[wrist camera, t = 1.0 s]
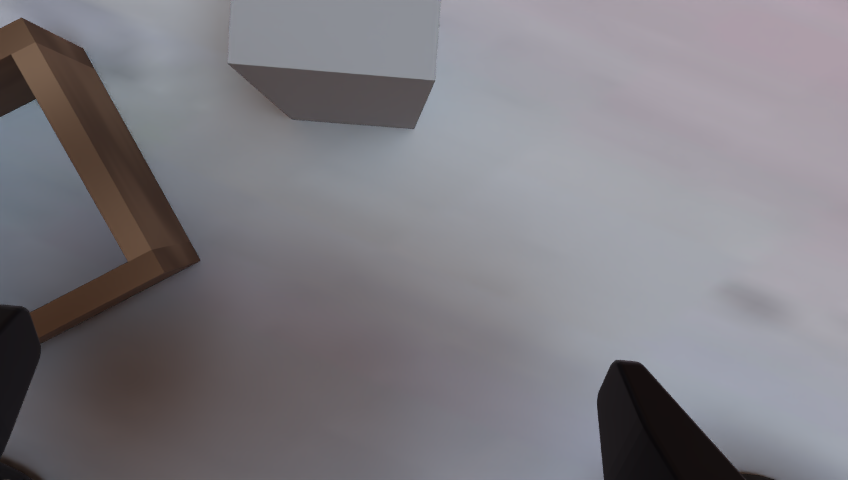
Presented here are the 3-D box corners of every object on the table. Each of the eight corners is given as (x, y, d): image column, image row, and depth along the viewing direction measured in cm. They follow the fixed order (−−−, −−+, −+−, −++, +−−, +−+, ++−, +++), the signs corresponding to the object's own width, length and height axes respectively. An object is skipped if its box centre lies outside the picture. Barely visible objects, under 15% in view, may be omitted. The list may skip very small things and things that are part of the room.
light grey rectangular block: (414, 128, 24) (435, 80, 14) (291, 119, 24) (227, 63, 14) (422, 5, 24) (449, -130, 14) (299, -6, 24) (238, -153, 14)
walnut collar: (200, 260, 24) (164, 272, 20) (-11, 369, 24) (-89, 404, 20) (83, 48, 23) (21, 17, 19) (-136, 159, 23) (-243, 151, 19)
